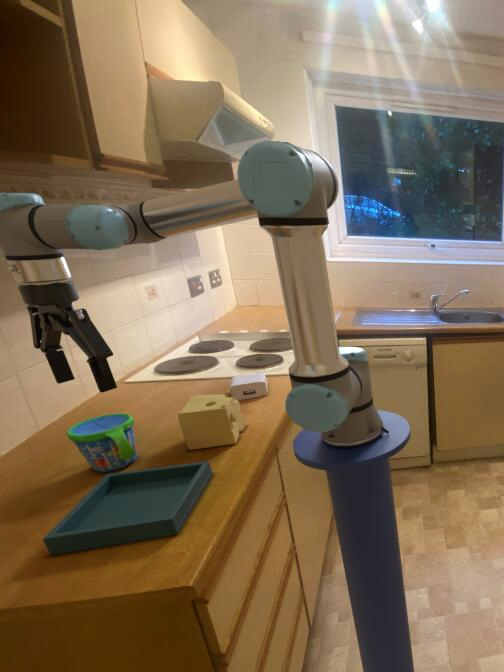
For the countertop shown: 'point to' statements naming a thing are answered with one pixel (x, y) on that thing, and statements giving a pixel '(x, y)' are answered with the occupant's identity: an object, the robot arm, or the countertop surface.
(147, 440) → the countertop surface
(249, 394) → the charger
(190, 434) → the cheese
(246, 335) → the countertop surface
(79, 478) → the countertop surface
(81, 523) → the tray
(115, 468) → the snack cup
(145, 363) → the countertop surface
